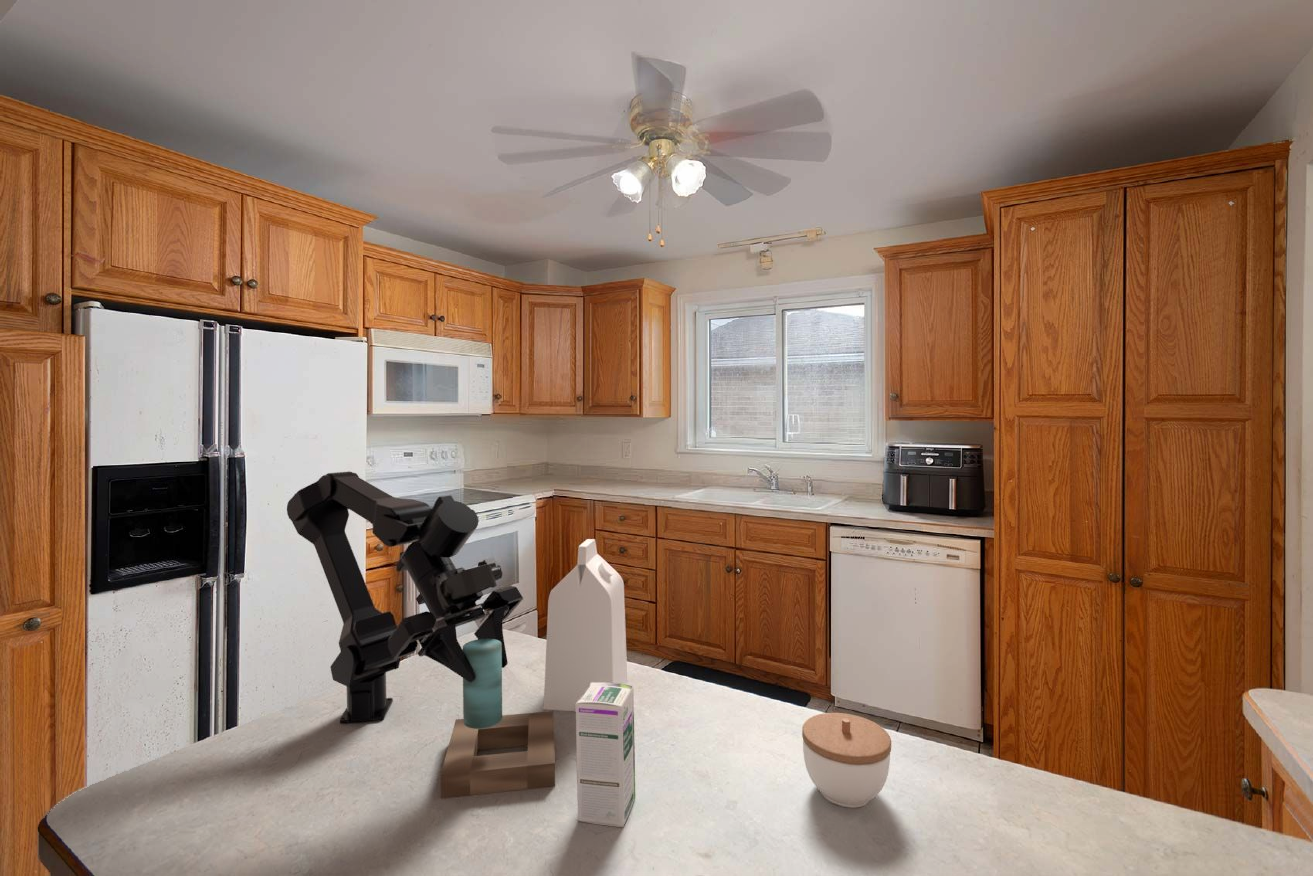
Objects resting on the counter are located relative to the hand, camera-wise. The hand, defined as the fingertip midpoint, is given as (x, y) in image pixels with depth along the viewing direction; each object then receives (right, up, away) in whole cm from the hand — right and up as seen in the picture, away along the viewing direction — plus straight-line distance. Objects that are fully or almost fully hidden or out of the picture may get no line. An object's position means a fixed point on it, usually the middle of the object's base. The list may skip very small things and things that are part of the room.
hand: (489, 672), depth 82 cm
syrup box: (+16, -14, -7) cm, 22 cm away
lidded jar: (+46, -14, -3) cm, 48 cm away
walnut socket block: (+1, -13, +4) cm, 14 cm away
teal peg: (-1, -7, +1) cm, 7 cm away
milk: (+10, -13, +24) cm, 29 cm away
